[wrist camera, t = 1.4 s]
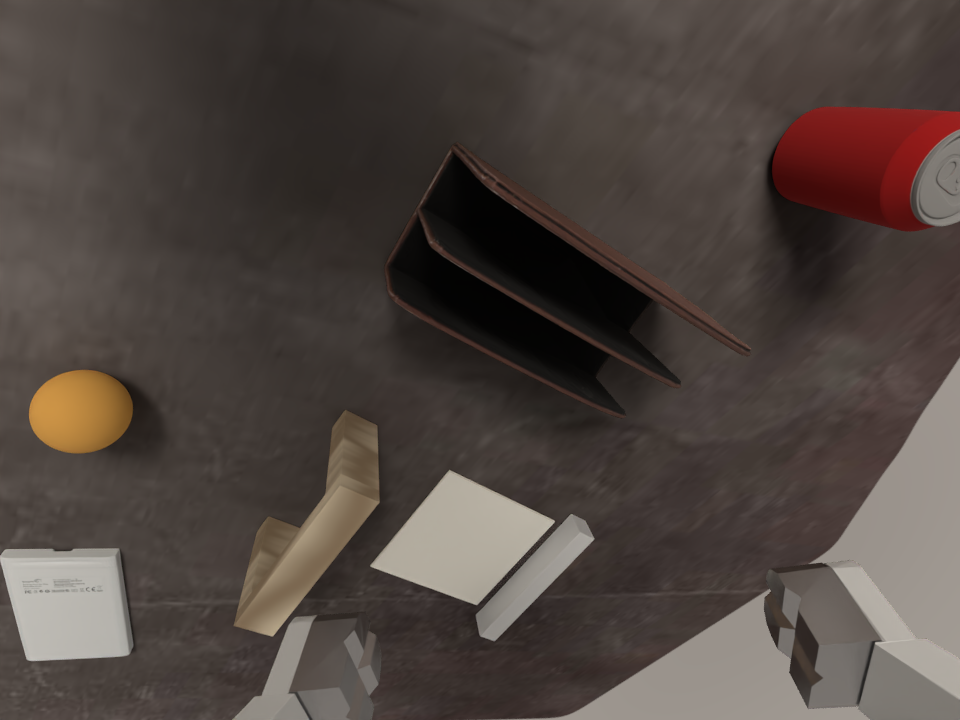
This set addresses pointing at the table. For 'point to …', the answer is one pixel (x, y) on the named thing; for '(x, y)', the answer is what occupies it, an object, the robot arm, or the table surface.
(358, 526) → the bridge
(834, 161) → the beverage can
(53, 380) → the ball
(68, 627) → the external hard drive
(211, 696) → the table surface
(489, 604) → the stopper
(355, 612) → the robot arm
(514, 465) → the table surface
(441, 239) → the letter holder
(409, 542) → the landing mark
